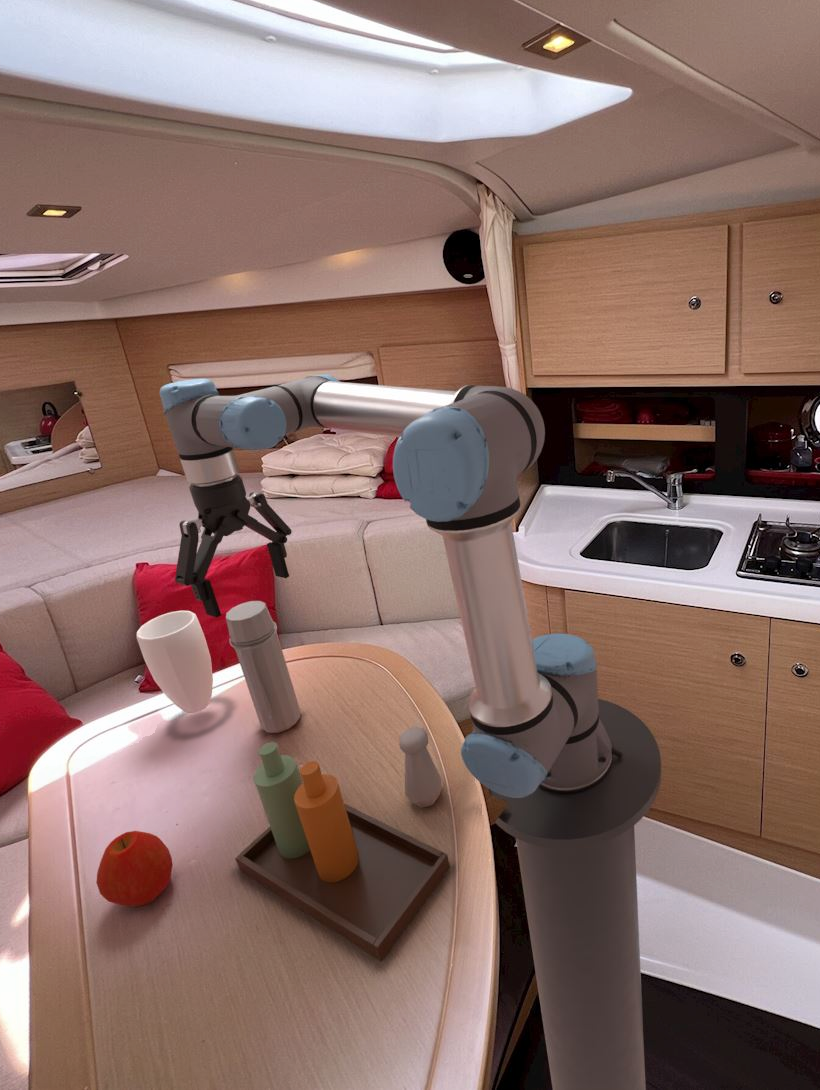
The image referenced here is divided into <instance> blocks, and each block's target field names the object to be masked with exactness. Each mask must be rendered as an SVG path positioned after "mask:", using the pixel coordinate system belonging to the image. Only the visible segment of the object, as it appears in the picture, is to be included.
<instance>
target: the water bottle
mask: <svg viewBox="0 0 820 1090" xmlns="http://www.w3.org/2000/svg"><path fill="white" fill-rule="evenodd" d="M225 621H226V625H227V630H228V635H229V640H228V642H229V645H230V646H231V647H232V648H233V649H234V650H235V653H236V657H237V659H238V662H239V665H240V668H241V671H242V674H243V677H244V680H245V682H246V683H245V684H246V687H247V690H248V691H249V694H250V699H251V701H252V704H253V707H254V709H255V712H256V716H257V719H258V721H259V724H260V727H261V729H262V730H263V731H265V732H266V733H268V734H278V733H279V734H280V733H281V732H285V731H287V730H290V728H292V727H293V726H295V725H296V724H297V722H298V721H299V719H300V718H301V716H302V715H301V707H300V705H299V702H298V701H299V700H298V698H297V695H296V691H295V688H294V684H293V681H292V678H291V675H290V671H289V668H288V665H287V662H286V661H287V660H286V658H285V655H284V652H283V648H282V645H281V642H280V639H279V635H278V632H277V630H278V625H277V623H276V622H275V621H273V618H272V616H271V614H270V611H269V609H268V607H267V604H266V602H264V601H261V600H250V601H246V602H242V603H240V604H237V605H236V606H234V607H231V608H230V609H229V610H228V611H227V612H226V613H225Z"/></svg>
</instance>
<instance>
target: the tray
mask: <svg viewBox="0 0 820 1090" xmlns="http://www.w3.org/2000/svg"><path fill="white" fill-rule="evenodd" d="M344 805H345V808H346V812H347V815H348V819H349V822H350V826H351V829H352V833H353V836H354V840H355V843H356V847H357V850H358V853H359V861H358V864H357V866H356V868H355V869H354V871H353V872H352V873H351V874H350V875H349V876H348V877H346V878H344V879H343V880H340V881H338V882H332V883H329V882H325V881H323V880H322V879H321V878H320V877H319V875H318V872H317V868H316V865H315V862H314V859H313V856H312V853H311V850H310V851H309V852H307V853H306V854H304V855H303V856H300V857H298V858H293V859H288V858H284V857H283V856H281V854H280V853H279V850H278V847H277V844H276V842H275V839H274V836H273V833H272V830H271V828H270V825H269V826H268V827H267V828H265V830H264V831H263V832H261V834H259V835H258V837H256V838H255V839H254V840H253V841H252V842H250V844H249V845H247V846H246V847H245V848H244V849H243V850H242V851H241V852H240V853H239V854H238V855H237V856H236V857H234V859H235V862H236V865H237V867H238V869H239V871H240V872H241V873H242V874H244V875H246V876H247V877H249V878H251V879H252V880H254V881H255V882H257V883H259V884H260V885H262V886H263V887H265V889H268V890H269V891H271V892H272V893H274V894H275V895H277V896H278V897H280V898H281V899H283V900H284V901H287V903H289V904H291V905H292V906H294V907H296V908H297V909H299V910H300V911H302V912H303V913H305V914H307V915H308V916H309V917H310V918H313V919H314V920H316V921H318V922H319V923H321V925H323V926H325V927H326V928H329V929H330V930H331V931H333V932H334V933H336V934H338V935H339V936H341V937H342V938H344V939H345V940H347V941H349V942H350V943H351V944H353V945H355V946H356V947H358V948H359V949H361V950H362V951H364V952H365V953H367V954H369V955H370V956H372V958H373V957H374V958H375V959H376V960H378V961H380V962H382V961H383V960H384V959H385V957H386V956H387V955H388V953H389V952H390V950H392V948H393V947H394V945H395V944H396V942H397V941H398V939H400V937H401V935H402V934H403V932H404V931H405V930H406V928H408V926H409V924H410V923H411V922H412V920H413V919H414V918H415V916H416V915H417V913H419V911H420V910H421V908H422V907H423V906H424V904H425V903H426V901H427V900H428V899H429V898H430V896H431V895H432V893H433V892H434V890H435V889H436V888H437V886H438V885H439V884H440V882H441V881H442V879H443V878H444V877H445V876H446V874H447V873H448V871H449V870H450V869H451V865H450V860H449V855H448V854H447V853H445V852H443V851H441V850H439V849H437V848H435V847H434V846H431V845H429V844H427V843H425V842H423V841H420V840H419V839H416V838H414V837H412V836H411V835H409V834H406V833H405V832H403V831H400V830H398V829H397V828H394V827H393V826H390V825H388V824H386V823H384V822H382V821H380V820H378V819H376V818H374V817H372V816H371V815H368V814H367V813H364V812H362V811H360V810H358V809H356V808H354V807H352V806H351V805H348V804H346V803H344Z"/></svg>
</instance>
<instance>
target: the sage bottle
mask: <svg viewBox="0 0 820 1090" xmlns="http://www.w3.org/2000/svg"><path fill="white" fill-rule="evenodd" d="M257 753H258V755H259V758H260V761H261V765H259V766H258V767H257V769H256V770H255V772H254V773H253V783H254V786H255V788H256V791H257V794H258V796H259V800H260V802H261V805H262V807H263V810H264V813H265V816H266V820H267V823H268V825H269V826H270V828H271V830H272V833H273V836H274V839H275V842H276V844H277V847H278V850H279V853H280V854H281V856H283V857H284V858H288V859H293V858H298V857H300V856H303V855H304V854H306V853H307V852H309V851H310V847H309V844H308V841H307V838H306V835H305V832H304V829H303V826H302V823H301V820H300V817H299V814H298V811H297V808H296V805H295V802H294V796H295V793H296V791H297V789H298V788H299V787H300V785H301V784H303V781H302V778H301V775H300V769H299V766H298V763H297V760H296V759H295V757H293V756H292V755H287V754H281V752H280V750H279V747H278V743H276V742H275V741H269V742H266V743H264V744H263V745H261V746H260V747H259V749H258V752H257Z"/></svg>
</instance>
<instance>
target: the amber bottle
mask: <svg viewBox="0 0 820 1090" xmlns="http://www.w3.org/2000/svg"><path fill="white" fill-rule="evenodd" d="M299 772H300V775H301V778H302V782H303V784H301V785H300V787H299V788H298V789H297V791H296V793H295V796H294V802H295V805H296V808H297V811H298V814H299V817H300V820H301V823H302V826H303V829H304V832H305V835H306V838H307V841H308V844H309V847H310V850H311V853H312V856H313V859H314V862H315V865H316V868H317V872H318V875H319V877H320V878H321V879H322V880H323V881H325V882H329V883H332V882H338V881H340V880H343V879H344V878H346V877H348V876H349V875H350V874H351V873H352V872H353V871H354V869H355V868H356V866H357V864H358V861H359V853H358V850H357V847H356V843H355V840H354V836H353V833H352V829H351V826H350V822H349V819H348V815H347V812H346V808H345V805H344V804H345V801H344V798H343V795H342V791H341V787H340V784H339V781H338V779H337V777H335V776H334V775H331V774H328V773H322V771H321V767H320V764H319V762H317V760H311V761H307V762H306V763H304V764H303V765H302V766H301V767H300V769H299Z"/></svg>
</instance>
